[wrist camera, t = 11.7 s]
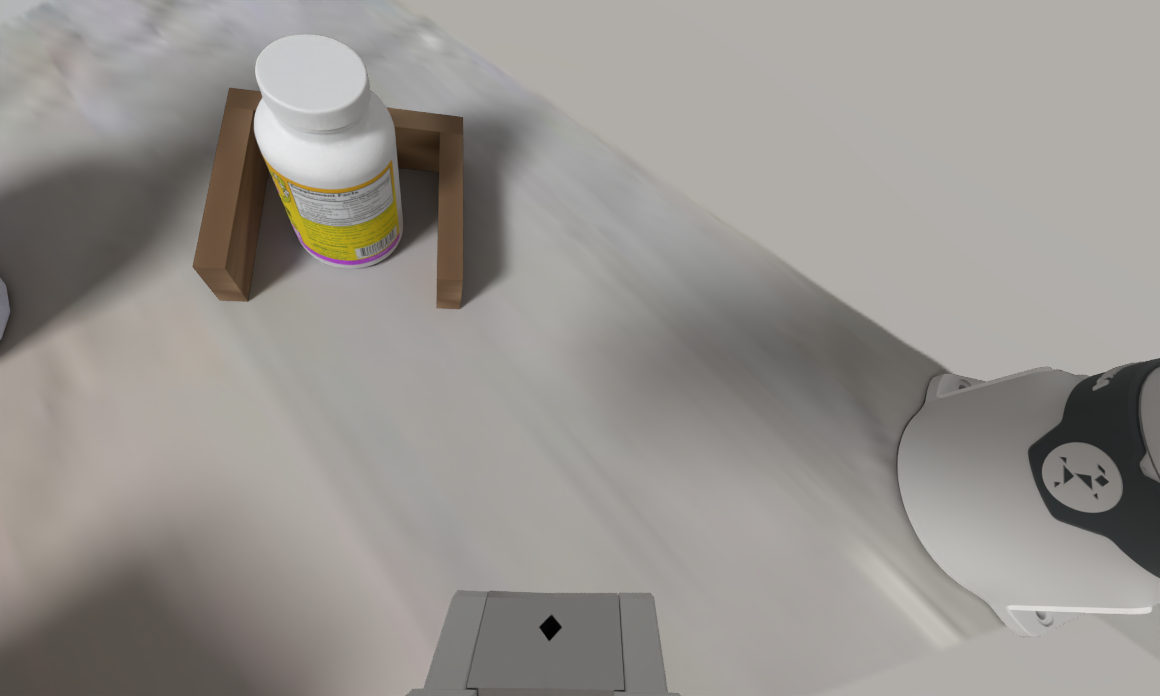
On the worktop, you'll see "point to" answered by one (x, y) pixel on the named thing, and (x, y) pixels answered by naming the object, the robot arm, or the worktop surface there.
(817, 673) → the worktop surface
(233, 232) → the corral
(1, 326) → the soap bottle
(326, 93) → the supplement bottle
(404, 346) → the worktop surface
